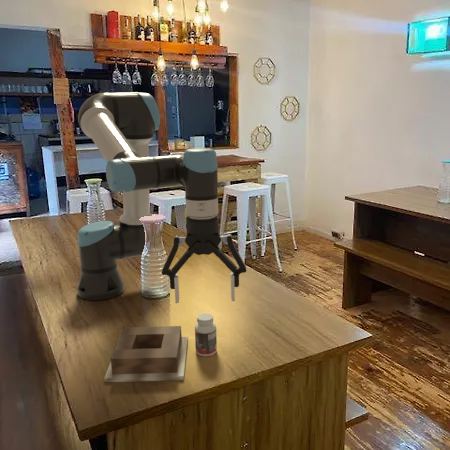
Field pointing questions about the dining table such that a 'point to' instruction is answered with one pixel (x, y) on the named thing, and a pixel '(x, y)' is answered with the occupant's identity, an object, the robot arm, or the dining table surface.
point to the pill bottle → (205, 335)
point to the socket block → (148, 355)
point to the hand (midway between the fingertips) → (205, 300)
